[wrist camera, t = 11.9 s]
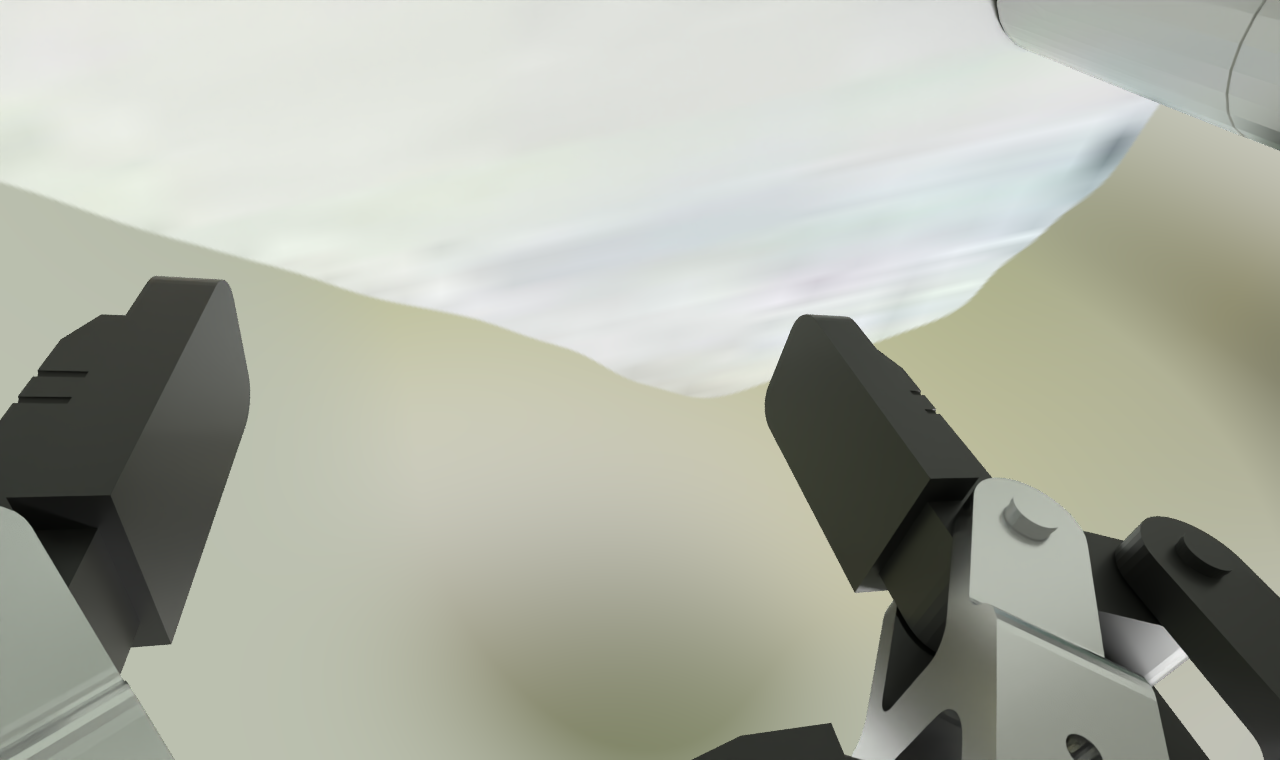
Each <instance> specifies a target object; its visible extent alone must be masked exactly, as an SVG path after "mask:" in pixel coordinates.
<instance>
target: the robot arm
mask: <svg viewBox="0 0 1280 760" xmlns="http://www.w3.org/2000/svg"><path fill="white" fill-rule="evenodd" d="M997 8H998V13H999V19H1000V22H1001V24H1002V26H1003V29H1004V31H1005V33H1006V35H1007V36H1008V37H1009V38H1010V39H1011V40H1012V41H1013V42H1014V43H1015V44H1016V45H1018V46H1020V47H1022V48H1024V49H1026V50H1028V51H1030V52H1033V53H1035V54H1038V55H1040V56H1043V57H1045V58H1048V59H1050V60H1053V61H1055V62H1058V63H1060V64H1063V65H1065V66H1068V67H1070V68H1072V69H1074V70H1077V71H1079V72H1082V73H1084V74H1087V75H1089V76H1092V77H1094V78H1097V79H1099V80H1102V81H1105V82H1107V83H1110V84H1112V85H1115V86H1117V87H1120V88H1122V89H1125V90H1127V91H1130V92H1132V93H1135V94H1137V95H1140V96H1142V97H1145V98H1147V99H1150V100H1152V101H1155V102H1157V103H1160V104H1162V105H1165V106H1167V107H1170V108H1172V109H1175V110H1177V111H1180V112H1182V113H1185V114H1187V115H1190V116H1192V117H1195V118H1198V119H1200V120H1203V121H1205V122H1208V123H1210V124H1213V125H1215V126H1218V127H1220V128H1223V129H1225V130H1228V131H1230V132H1233V133H1235V134H1238V135H1240V136H1243V137H1246V138H1249V139H1252V140H1254V141H1256V142H1259V143H1262V144H1264V145H1267V146H1269V147H1272V148H1274V149H1277V150H1279V151H1280V0H997ZM920 392H921V391H920V389H919V388H918V387H917V385H916V384H915V383H914V382H913V381H912V379H911V378H910V377H909V376H908V374H907V373H906V372H905V371H904V370H903V368H901V367H900V366H898V365H897V364H896V363H895V362H893V361H892V360H891V359H889V358H888V357H887V356H885V355H884V354H883V353H881V352H880V351H879V350H877V349H876V348H875V346H874V345H873V344H872V343H871V341H870V340H869V339H868V338H867V336H866V335H865V334H864V333H863V331H862V330H861V329H860V328H859V326H858V325H857V324H856V323H855V322H854V321H853V320H852V319H851V318H849V317H844V316H826V315H809V314H806V315H802V316H800V317H799V318H798V319H797V320H796V321H795V323H794V325H793V327H792V329H791V331H790V334H789V336H788V339H787V341H786V344H785V346H784V349H783V351H782V354H781V356H780V359H779V361H778V364H777V366H776V369H775V371H774V374H773V376H772V379H771V381H770V384H769V386H768V389H767V393H766V398H765V415H766V420H767V423H768V426H769V428H770V430H771V432H772V434H773V436H774V438H775V440H776V442H777V444H778V446H779V448H780V450H781V451H782V453H783V455H784V457H785V459H786V461H787V463H788V465H789V467H790V469H791V471H792V473H793V475H794V477H795V478H796V480H797V482H798V484H799V486H800V488H801V490H802V492H803V494H804V496H805V498H806V500H807V502H808V503H809V505H810V507H811V509H812V511H813V513H814V515H815V517H816V519H817V521H818V523H819V525H820V527H821V528H822V530H823V532H824V534H825V536H826V538H827V540H828V542H829V544H830V546H831V548H832V550H833V551H834V553H835V555H836V557H837V559H838V561H839V563H840V565H841V567H842V569H843V571H844V573H845V575H846V577H847V578H848V580H849V582H850V584H851V586H852V588H853V590H854V592H855V593H859V592H871V591H884V590H888V591H889V592H890V594H891V596H892V598H893V602H892V603H891V605H890V606H889V607H888V609H887V610H886V612H885V615H884V619H883V624H882V630H881V635H880V641H879V647H878V653H877V659H876V664H875V670H874V676H873V681H872V687H871V693H870V699H869V705H868V710H867V716H866V721H865V725H864V728H863V731H862V734H861V737H860V739H859V742H858V744H857V746H856V748H855V750H854V752H853V753H852V756H847V755H844V753H843V750H842V748H841V746H840V743H839V741H838V739H837V736H836V734H835V731H834V729H833V727H832V724H831V723H828V724H820V725H813V726H807V727H799V728H793V729H785V730H778V731H771V732H765V733H757V734H750V735H744V736H739V737H737V738H735V739H734V740H731V741H729V742H727V743H725V744H723V745H721V746H719V747H717V748H715V749H713V750H711V751H709V752H707V753H705V754H703V755H701V756H699V757H697V758H694V759H693V760H1209V758H1208V757H1207V756H1206V755H1205V753H1204V752H1203V750H1202V749H1201V748H1200V746H1199V745H1198V744H1197V743H1196V741H1195V740H1194V739H1193V737H1192V736H1191V735H1190V733H1189V732H1188V731H1187V729H1186V728H1185V727H1184V725H1183V724H1182V723H1181V721H1180V720H1179V719H1178V717H1177V716H1176V715H1175V713H1174V712H1173V711H1172V709H1171V708H1170V707H1169V706H1168V704H1167V703H1166V702H1165V700H1164V699H1163V698H1162V696H1161V695H1160V694H1159V692H1158V691H1157V690H1156V688H1155V687H1154V685H1155V684H1156V683H1158V682H1159V681H1160V680H1162V679H1163V678H1164V677H1166V676H1167V675H1168V674H1169V673H1171V672H1172V671H1173V670H1175V669H1176V668H1177V667H1178V666H1180V665H1181V664H1182V663H1184V662H1185V661H1186V660H1188V659H1189V658H1190V660H1191V661H1192V662H1193V663H1194V664H1195V665H1196V667H1197V668H1198V669H1199V670H1200V672H1201V673H1202V674H1203V675H1204V677H1205V678H1206V679H1207V680H1208V681H1209V682H1210V684H1211V685H1212V686H1213V687H1214V689H1215V690H1216V691H1217V692H1218V693H1219V695H1220V696H1221V697H1222V698H1223V700H1224V701H1225V702H1226V703H1227V704H1228V706H1229V707H1230V708H1231V709H1232V710H1233V712H1234V713H1235V714H1236V715H1237V716H1238V718H1239V719H1240V720H1241V721H1242V723H1243V724H1244V725H1245V726H1246V727H1247V729H1248V730H1249V731H1250V732H1251V734H1252V735H1253V736H1254V738H1255V739H1256V740H1257V742H1258V744H1259V746H1260V748H1261V751H1262V753H1263V757H1264V760H1280V597H1279V596H1277V595H1276V594H1275V593H1274V592H1273V591H1272V590H1271V589H1270V588H1269V587H1268V586H1267V585H1266V584H1265V583H1264V582H1263V581H1262V580H1261V579H1260V578H1259V577H1258V576H1257V575H1256V574H1255V573H1254V572H1253V571H1252V570H1251V569H1250V568H1249V567H1248V566H1247V565H1246V564H1245V563H1244V562H1243V561H1242V560H1241V559H1240V558H1239V557H1238V556H1237V555H1236V554H1235V553H1233V552H1232V551H1231V550H1230V549H1229V548H1227V547H1226V546H1225V545H1224V544H1222V543H1221V542H1219V541H1218V540H1217V539H1215V538H1213V537H1212V536H1210V535H1209V534H1207V533H1205V532H1203V531H1202V530H1200V529H1198V528H1196V527H1194V526H1192V525H1189V524H1187V523H1185V522H1182V521H1179V520H1176V519H1172V518H1168V517H1160V516H1156V517H1150V518H1147V519H1145V520H1144V521H1143V522H1142V523H1141V524H1140V525H1139V526H1138V527H1137V528H1136V529H1135V530H1134V531H1133V532H1132V533H1131V534H1130V535H1129V536H1128V537H1127V538H1126V539H1125V540H1124V541H1123V540H1119V539H1114V538H1110V537H1106V536H1102V535H1098V534H1094V533H1090V532H1085V531H1083V530H1082V529H1081V527H1080V526H1079V524H1078V523H1077V521H1076V520H1075V519H1074V518H1073V517H1072V516H1071V514H1070V513H1069V512H1068V511H1067V510H1066V509H1064V508H1063V507H1062V506H1061V505H1060V504H1058V503H1057V502H1056V501H1055V500H1053V499H1052V498H1050V497H1049V496H1048V495H1046V494H1044V493H1042V492H1041V491H1039V490H1037V489H1035V488H1033V487H1031V486H1029V485H1026V484H1024V483H1021V482H1019V481H1015V480H1011V479H1006V478H992V477H991V476H990V475H989V473H988V472H987V471H986V470H985V469H984V467H983V466H982V465H981V464H980V463H979V461H978V460H977V459H976V458H975V456H974V455H973V454H972V453H971V451H970V450H969V449H968V448H967V447H966V445H965V444H964V443H963V442H962V440H961V439H960V438H959V437H958V436H957V434H956V433H955V432H954V431H953V429H952V428H951V427H950V426H949V425H948V423H947V422H946V421H945V420H944V418H943V417H942V416H941V415H940V414H936V412H935V411H936V409H935V407H934V406H933V405H932V404H931V403H930V401H929V400H928V399H927V398H926V397H925V395H921V394H920ZM18 398H19V401H18V403H13V404H12V405H11V406H10V408H9V409H8V410H7V412H6V413H5V414H4V416H3V417H2V418H1V420H0V760H175V759H174V758H173V756H172V754H171V753H170V751H169V749H168V748H167V746H166V744H165V743H164V741H163V739H162V738H161V736H160V734H159V733H158V731H157V730H156V728H155V726H154V724H153V723H152V721H151V720H150V718H149V716H148V715H147V713H146V711H145V710H144V708H143V706H142V705H141V703H140V701H139V700H138V698H137V697H136V695H135V694H134V692H133V690H132V689H131V687H130V686H129V684H128V683H127V682H126V681H124V680H123V679H122V677H121V675H120V673H121V671H122V668H123V666H124V663H125V661H126V658H127V655H128V653H129V650H130V648H131V647H142V646H155V645H167V644H171V643H172V640H173V637H174V634H175V632H176V629H177V626H178V623H179V620H180V617H181V614H182V611H183V608H184V605H185V602H186V599H187V596H188V593H189V590H190V588H191V585H192V582H193V578H194V576H195V573H196V569H197V567H198V564H199V561H200V558H201V555H202V552H203V549H204V546H205V543H206V540H207V538H208V534H209V532H210V529H211V526H212V523H213V520H214V517H215V514H216V511H217V508H218V505H219V502H220V499H221V496H222V493H223V491H224V488H225V485H226V482H227V479H228V476H229V473H230V470H231V467H232V464H233V461H234V458H235V455H236V452H237V449H238V446H239V443H240V441H241V438H242V435H243V432H244V429H245V426H246V422H247V418H248V412H249V405H250V383H249V375H248V370H247V365H246V360H245V355H244V349H243V344H242V340H241V334H240V329H239V324H238V319H237V313H236V308H235V303H234V299H233V294H232V291H231V288H230V286H229V284H228V283H227V282H226V281H225V280H217V279H200V278H199V279H198V278H182V277H165V276H154V277H152V278H151V279H150V280H149V281H148V282H147V284H146V285H145V287H144V288H143V290H142V291H141V293H140V294H139V296H138V297H137V299H136V301H135V302H134V303H133V305H132V307H131V308H130V310H129V311H128V313H127V314H126V316H125V315H100V316H98V317H97V318H95V319H93V320H92V321H90V322H88V323H87V324H85V325H84V326H82V327H80V328H79V329H77V330H75V331H74V332H72V333H71V334H69V335H67V336H66V337H64V338H62V339H61V340H60V341H59V343H58V344H57V345H56V347H55V348H54V349H53V351H52V352H51V353H50V355H49V356H48V357H47V358H46V360H45V361H44V362H43V364H42V365H41V367H40V368H39V370H38V376H37V377H32V378H31V380H30V381H29V382H28V384H27V385H26V386H25V388H24V389H23V391H22V392H21V393H20V394H19V396H18Z"/></svg>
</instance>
